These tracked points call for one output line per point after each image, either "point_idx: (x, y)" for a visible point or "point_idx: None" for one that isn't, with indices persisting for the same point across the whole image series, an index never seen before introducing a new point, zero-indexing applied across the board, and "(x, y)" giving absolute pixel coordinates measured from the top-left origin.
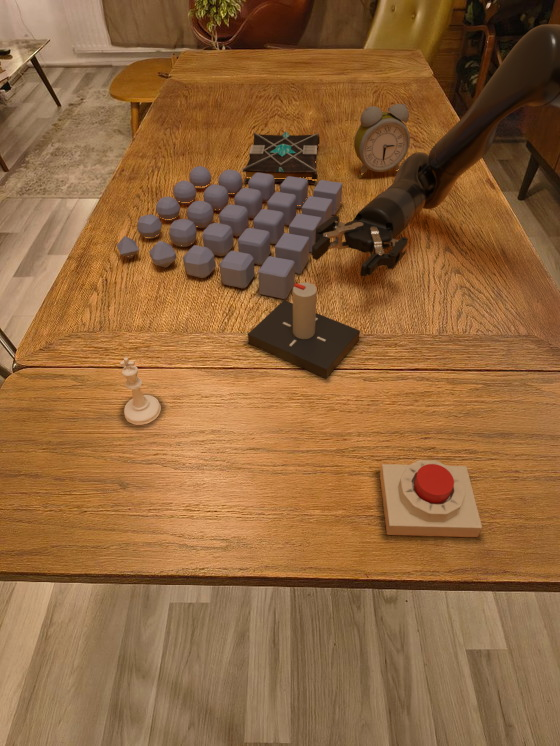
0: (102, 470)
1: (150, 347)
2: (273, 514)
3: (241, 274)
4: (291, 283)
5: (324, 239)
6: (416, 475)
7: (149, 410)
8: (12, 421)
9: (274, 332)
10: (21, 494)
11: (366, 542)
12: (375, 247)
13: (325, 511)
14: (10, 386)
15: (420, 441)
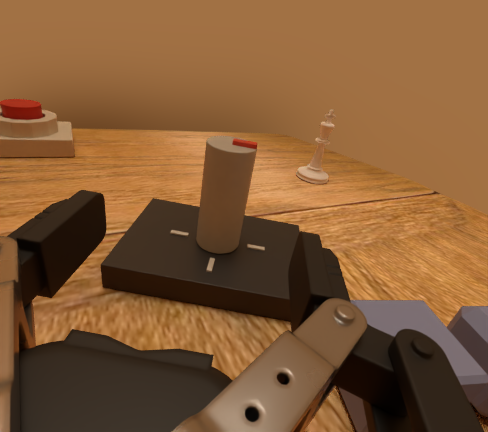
0: (291, 154)
1: (385, 219)
2: (164, 143)
3: (455, 316)
4: None
5: (322, 282)
6: (40, 106)
7: (303, 168)
8: (377, 168)
9: (264, 233)
10: (316, 147)
11: (89, 135)
12: (11, 276)
13: (124, 144)
14: (416, 182)
15: (14, 175)
